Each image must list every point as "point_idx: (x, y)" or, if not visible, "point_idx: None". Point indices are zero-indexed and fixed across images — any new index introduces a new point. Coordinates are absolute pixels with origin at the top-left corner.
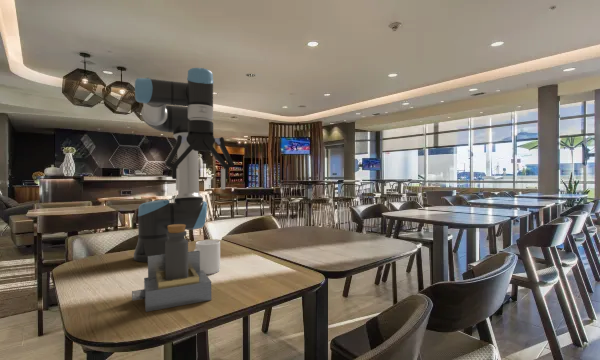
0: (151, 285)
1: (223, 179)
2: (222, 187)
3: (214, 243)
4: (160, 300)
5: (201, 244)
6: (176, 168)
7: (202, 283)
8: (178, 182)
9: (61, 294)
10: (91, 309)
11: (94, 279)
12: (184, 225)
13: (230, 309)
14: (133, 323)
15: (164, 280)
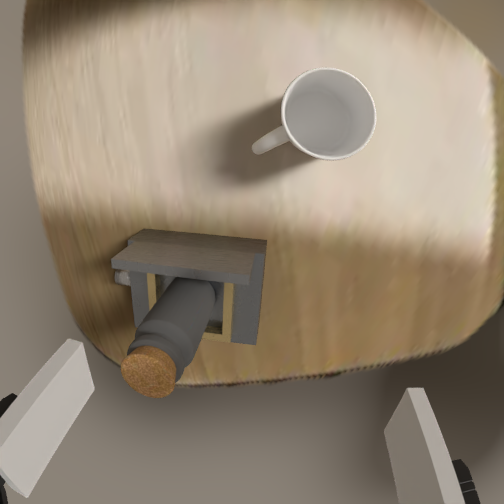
0: (142, 300)
1: (400, 488)
2: (391, 432)
3: (360, 92)
4: None
5: (294, 142)
6: (4, 481)
7: (237, 342)
8: (66, 423)
9: (28, 141)
10: (74, 247)
11: (65, 63)
12: (169, 392)
13: (273, 371)
14: None
15: (166, 284)
